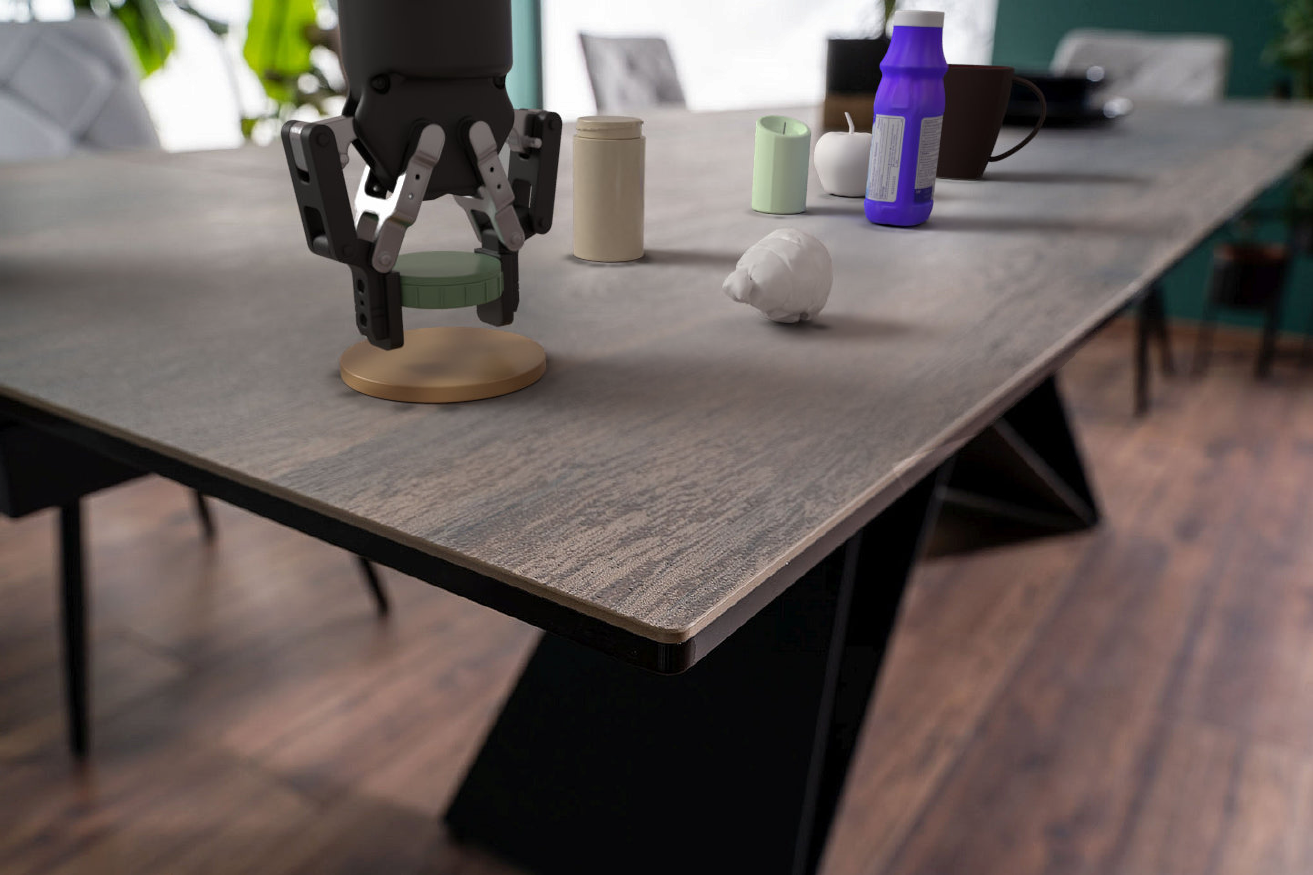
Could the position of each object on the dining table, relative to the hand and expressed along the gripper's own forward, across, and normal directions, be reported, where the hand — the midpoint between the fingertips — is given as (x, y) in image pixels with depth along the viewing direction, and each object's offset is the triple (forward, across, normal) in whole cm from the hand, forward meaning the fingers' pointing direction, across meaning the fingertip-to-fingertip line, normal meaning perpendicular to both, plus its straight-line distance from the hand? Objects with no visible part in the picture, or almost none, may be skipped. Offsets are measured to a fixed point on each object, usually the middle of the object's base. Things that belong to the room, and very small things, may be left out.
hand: (443, 332), depth 53 cm
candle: (+2, +51, +20) cm, 54 cm away
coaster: (+2, 0, 0) cm, 2 cm away
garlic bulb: (+2, +19, -5) cm, 20 cm away
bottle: (+2, +54, +9) cm, 55 cm away
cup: (+2, +86, +20) cm, 88 cm away
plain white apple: (+2, +63, +21) cm, 67 cm away
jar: (+2, +25, +15) cm, 29 cm away
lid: (-3, 0, 0) cm, 3 cm away
